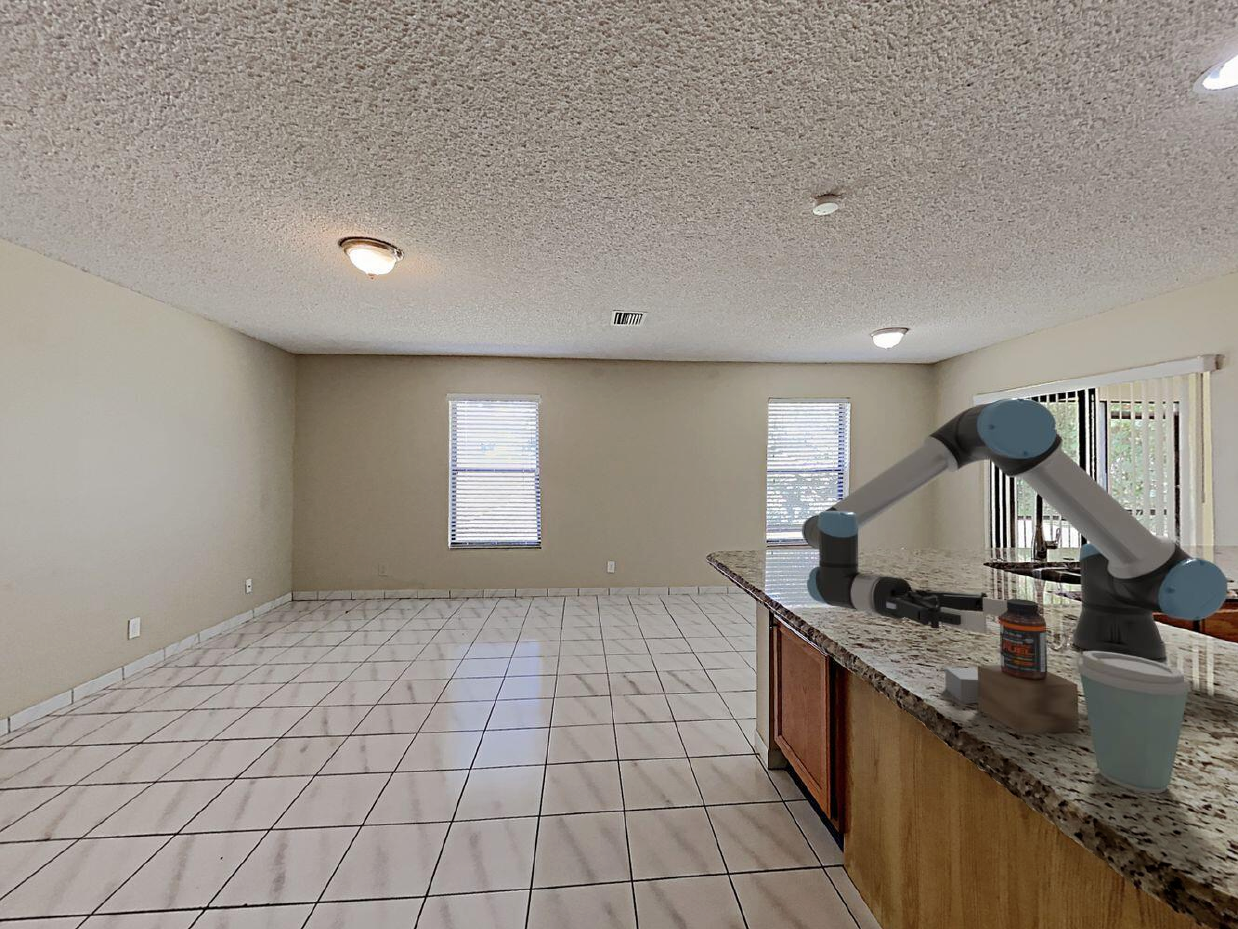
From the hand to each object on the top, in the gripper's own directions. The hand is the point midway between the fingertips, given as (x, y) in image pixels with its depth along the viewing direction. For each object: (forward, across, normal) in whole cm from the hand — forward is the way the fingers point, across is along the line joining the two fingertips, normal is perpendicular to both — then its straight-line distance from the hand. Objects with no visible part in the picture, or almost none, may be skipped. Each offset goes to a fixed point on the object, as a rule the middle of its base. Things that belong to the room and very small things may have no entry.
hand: (1006, 618), depth 90 cm
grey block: (-7, -4, -16) cm, 18 cm away
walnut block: (+2, 0, -15) cm, 15 cm away
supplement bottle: (+2, 0, -8) cm, 9 cm away
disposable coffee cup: (+18, +9, -16) cm, 25 cm away
